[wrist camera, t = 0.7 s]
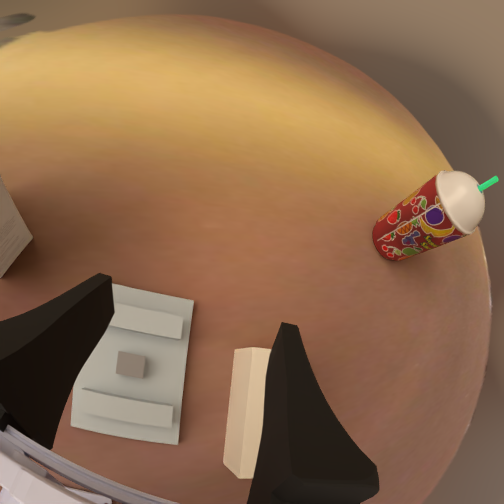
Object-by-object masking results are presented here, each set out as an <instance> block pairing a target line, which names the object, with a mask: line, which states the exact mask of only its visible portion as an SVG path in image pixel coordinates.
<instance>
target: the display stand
mask: <svg viewBox="0 0 504 504" xmlns="http://www.w3.org/2000/svg"><path fill="white" fill-rule="evenodd" d="M112 289H113V300H114V309H115V313H114V315H113V317H112V319H111V322H110V324H109V326H108V328H107V330H106V332H105V333H104V335H103V336H102V338H101V339H100V341H99V343H98V344H97V346H96V347H95V349H94V350H93V352H92V353H91V355H90V357H89V358H88V360H87V361H86V363H85V364H84V366H83V368H82V369H81V371H80V373H79V375H78V377H77V379H76V381H75V383H74V389H73V400H72V414H71V426H73V427H77V428H81V429H86V430H90V431H94V432H99V433H103V434H108V435H113V436H119V437H124V438H130V439H136V440H143V441H150V442H158V443H166V444H175V445H178V439H179V427H180V416H181V405H182V395H183V386H184V376H185V367H186V358H187V350H188V342H189V334H190V326H191V318H192V311H193V304H194V301H193V300H188V299H183V298H178V297H173V296H168V295H163V294H158V293H153V292H149V291H144V290H139V289H135V288H130V287H126V286H121V285H117V284H113V283H112Z"/></svg>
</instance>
